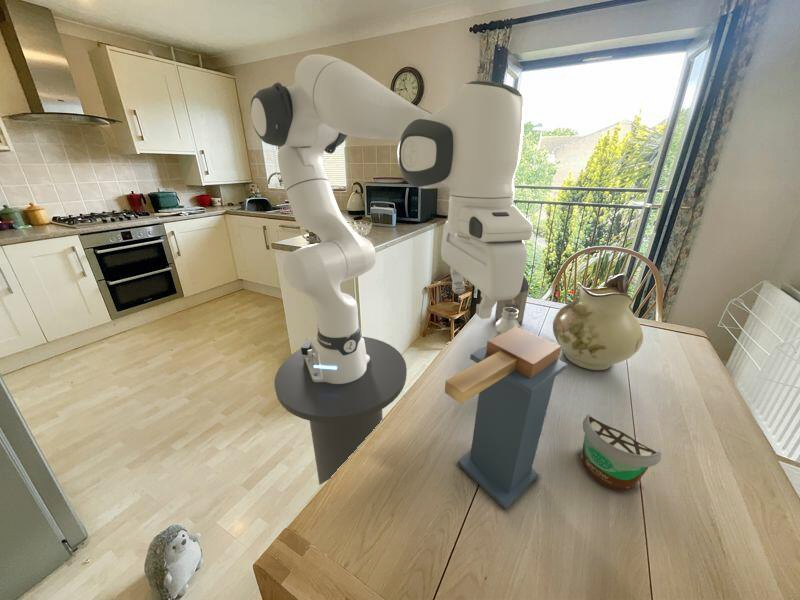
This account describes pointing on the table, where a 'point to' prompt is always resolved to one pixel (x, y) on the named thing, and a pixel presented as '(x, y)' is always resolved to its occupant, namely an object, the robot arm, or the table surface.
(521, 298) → the liquor
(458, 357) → the table surface
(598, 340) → the pitcher
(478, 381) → the mallet
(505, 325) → the plastic bottle
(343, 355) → the robot arm
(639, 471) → the food container
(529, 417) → the pedestal stand
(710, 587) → the table surface
